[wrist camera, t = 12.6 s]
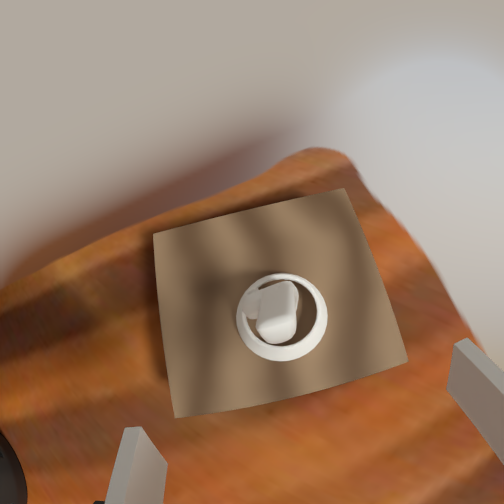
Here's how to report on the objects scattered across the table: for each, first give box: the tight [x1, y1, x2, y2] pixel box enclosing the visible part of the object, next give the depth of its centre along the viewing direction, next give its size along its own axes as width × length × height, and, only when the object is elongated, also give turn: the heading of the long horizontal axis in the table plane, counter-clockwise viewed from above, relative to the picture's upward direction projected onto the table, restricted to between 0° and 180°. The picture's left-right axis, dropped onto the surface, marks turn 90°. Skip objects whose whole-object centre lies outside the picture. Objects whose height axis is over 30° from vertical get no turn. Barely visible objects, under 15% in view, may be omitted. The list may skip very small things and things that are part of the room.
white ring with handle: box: [236, 273, 328, 361], centre depth 23 cm, size 8×12×7 cm
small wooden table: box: [153, 188, 408, 418], centre depth 30 cm, size 20×18×6 cm
